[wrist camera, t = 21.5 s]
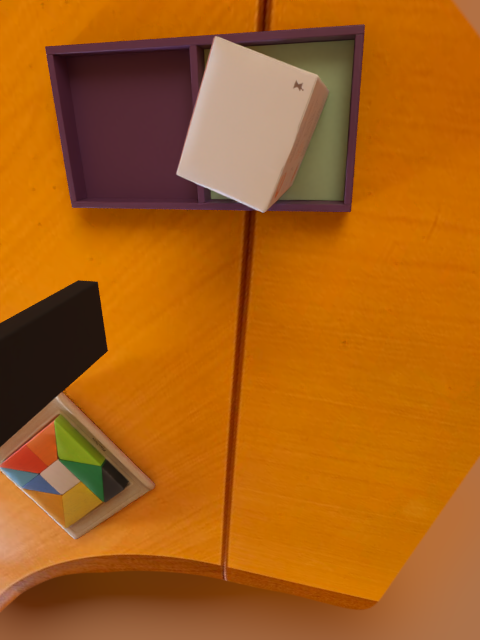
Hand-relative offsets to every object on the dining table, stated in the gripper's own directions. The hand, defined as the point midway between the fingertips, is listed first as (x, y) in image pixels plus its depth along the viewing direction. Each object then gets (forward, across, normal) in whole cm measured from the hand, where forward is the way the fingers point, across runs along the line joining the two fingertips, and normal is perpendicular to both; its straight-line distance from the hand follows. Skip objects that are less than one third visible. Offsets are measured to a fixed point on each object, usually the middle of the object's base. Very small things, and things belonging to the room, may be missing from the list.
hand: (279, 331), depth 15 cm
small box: (+27, -5, +6) cm, 28 cm away
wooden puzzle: (+28, -32, -35) cm, 55 cm away
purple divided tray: (+28, -11, +6) cm, 31 cm away
